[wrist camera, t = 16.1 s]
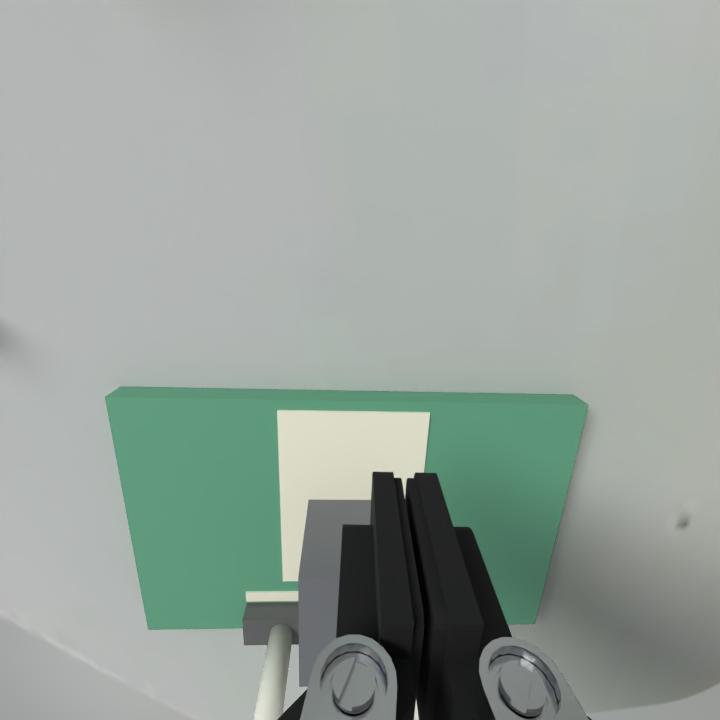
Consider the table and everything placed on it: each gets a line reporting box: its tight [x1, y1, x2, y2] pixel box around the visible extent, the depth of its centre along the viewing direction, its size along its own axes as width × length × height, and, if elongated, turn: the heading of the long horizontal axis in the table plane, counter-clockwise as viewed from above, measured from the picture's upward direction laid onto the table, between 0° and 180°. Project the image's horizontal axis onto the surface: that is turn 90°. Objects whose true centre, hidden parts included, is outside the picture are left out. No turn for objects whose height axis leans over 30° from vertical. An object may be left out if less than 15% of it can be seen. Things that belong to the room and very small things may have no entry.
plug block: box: [298, 500, 371, 687], centre depth 17 cm, size 4×6×4 cm
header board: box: [105, 387, 588, 720], centre depth 17 cm, size 22×14×7 cm, turn 88°
